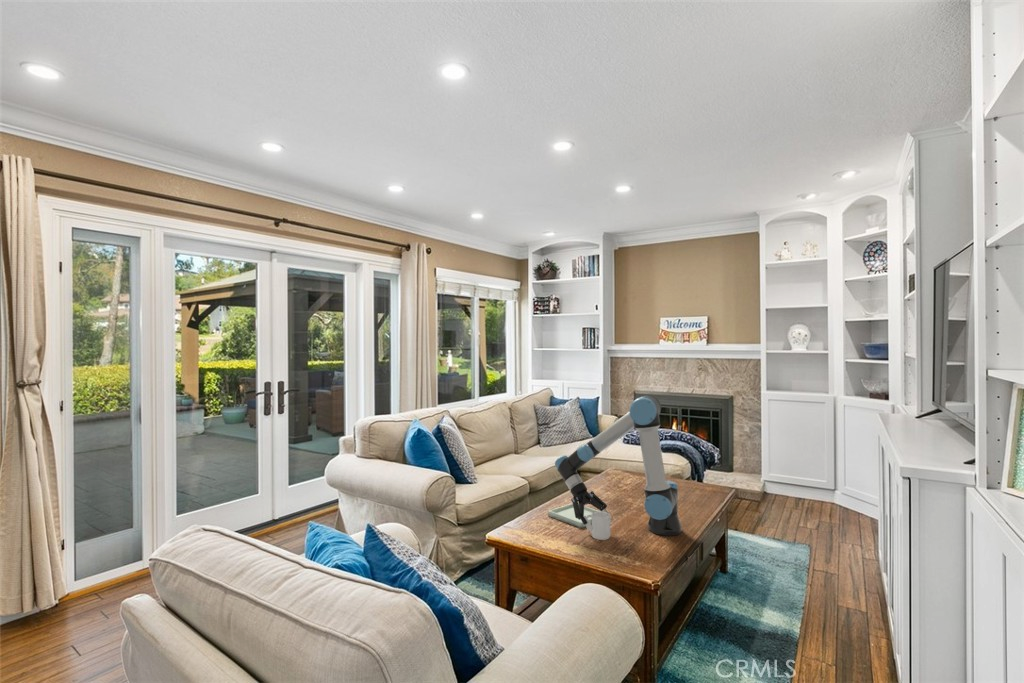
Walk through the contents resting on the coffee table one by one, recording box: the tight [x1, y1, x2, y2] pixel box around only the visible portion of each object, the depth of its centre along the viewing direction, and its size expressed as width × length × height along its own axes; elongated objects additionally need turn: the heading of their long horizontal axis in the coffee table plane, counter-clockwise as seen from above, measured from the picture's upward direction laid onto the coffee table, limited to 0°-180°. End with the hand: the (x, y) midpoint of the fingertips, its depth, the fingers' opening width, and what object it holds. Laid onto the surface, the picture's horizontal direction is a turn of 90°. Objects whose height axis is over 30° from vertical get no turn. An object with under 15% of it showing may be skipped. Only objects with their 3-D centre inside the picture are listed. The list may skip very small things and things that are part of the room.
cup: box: [587, 512, 611, 541], centre depth 233 cm, size 8×12×10 cm
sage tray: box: [547, 502, 601, 529], centre depth 257 cm, size 22×20×2 cm
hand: (600, 526), depth 231 cm, fingers open, 13 cm apart
